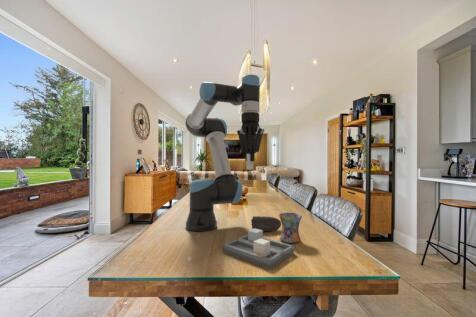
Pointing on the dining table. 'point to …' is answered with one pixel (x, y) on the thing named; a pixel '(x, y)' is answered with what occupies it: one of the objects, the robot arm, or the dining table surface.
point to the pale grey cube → (255, 234)
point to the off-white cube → (261, 247)
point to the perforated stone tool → (265, 223)
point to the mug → (290, 227)
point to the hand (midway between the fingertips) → (249, 169)
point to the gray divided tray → (245, 252)
